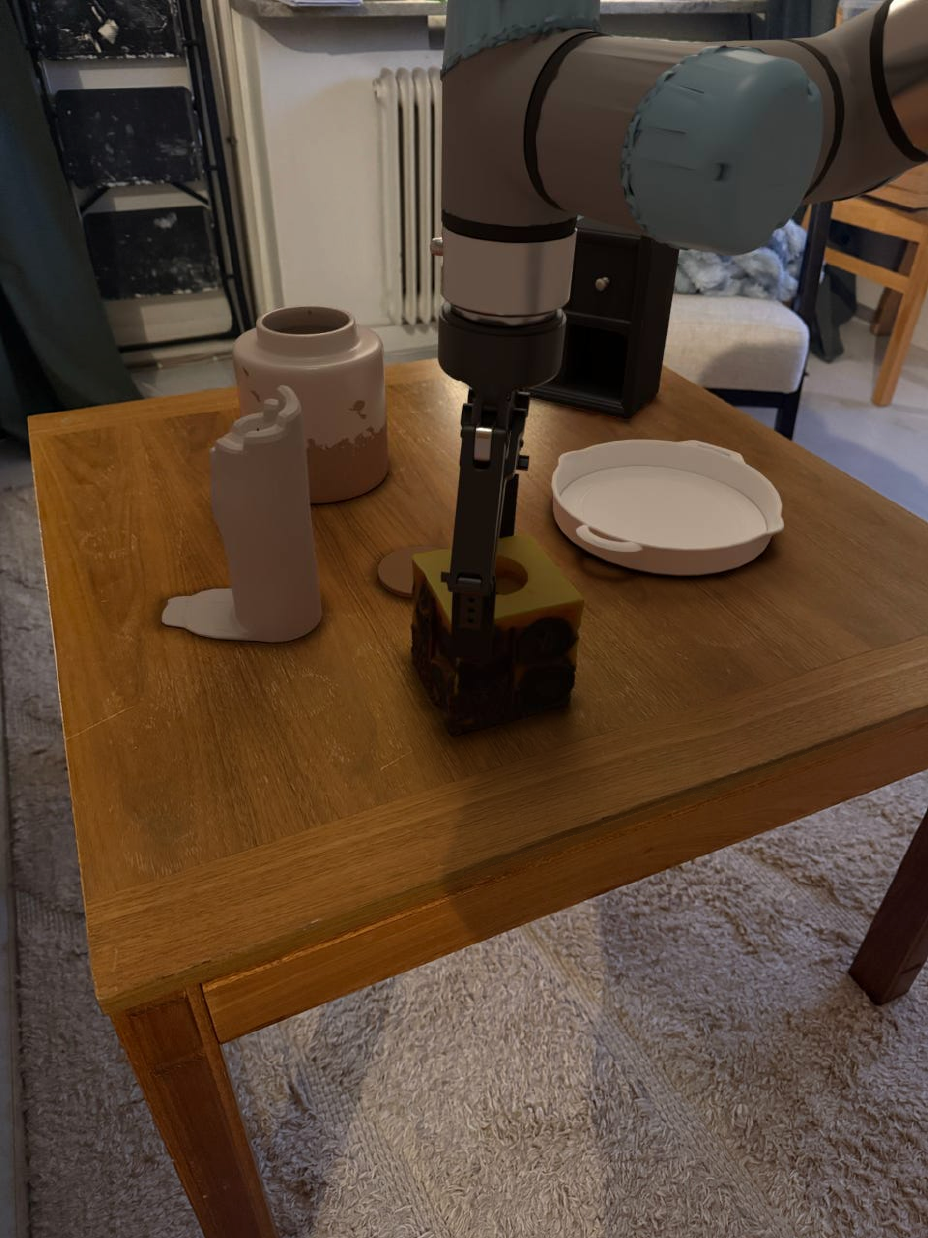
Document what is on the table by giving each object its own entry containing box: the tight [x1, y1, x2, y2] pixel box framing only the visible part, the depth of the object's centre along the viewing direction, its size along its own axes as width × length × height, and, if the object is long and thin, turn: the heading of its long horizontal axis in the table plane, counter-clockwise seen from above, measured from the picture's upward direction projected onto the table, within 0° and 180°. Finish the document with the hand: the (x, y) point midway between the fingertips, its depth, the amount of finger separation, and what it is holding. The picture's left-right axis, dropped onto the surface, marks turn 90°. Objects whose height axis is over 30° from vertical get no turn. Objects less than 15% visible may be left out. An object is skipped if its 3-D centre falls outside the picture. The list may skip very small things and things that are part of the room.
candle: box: [410, 533, 585, 736], centre depth 65 cm, size 10×10×10 cm
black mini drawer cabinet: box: [524, 217, 680, 421], centre depth 109 cm, size 23×11×24 cm, turn 60°
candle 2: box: [161, 385, 323, 643], centre depth 68 cm, size 7×14×20 cm, turn 86°
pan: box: [550, 439, 785, 577], centre depth 87 cm, size 24×27×4 cm
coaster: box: [377, 545, 445, 600], centre depth 80 cm, size 8×8×1 cm
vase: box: [231, 304, 389, 504], centre depth 91 cm, size 15×15×17 cm
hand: (484, 597), depth 63 cm, fingers open, 13 cm apart
